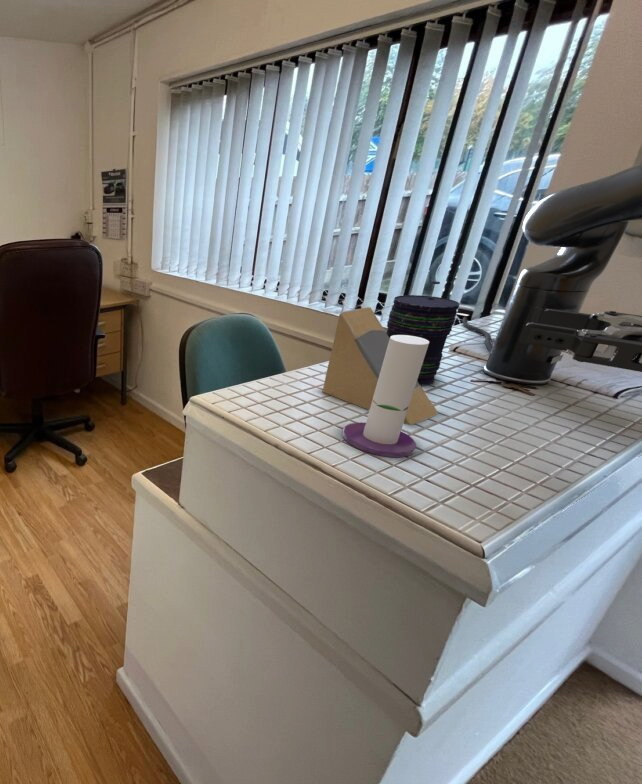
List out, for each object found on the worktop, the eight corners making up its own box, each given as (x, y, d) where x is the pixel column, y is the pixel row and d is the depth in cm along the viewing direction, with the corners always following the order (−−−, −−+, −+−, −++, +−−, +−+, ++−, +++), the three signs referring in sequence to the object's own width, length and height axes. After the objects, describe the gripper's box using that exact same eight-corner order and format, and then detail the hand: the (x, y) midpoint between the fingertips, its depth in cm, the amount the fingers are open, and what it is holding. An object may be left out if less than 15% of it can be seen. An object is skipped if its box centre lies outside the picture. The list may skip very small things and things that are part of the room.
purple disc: (344, 421, 74) (345, 417, 73) (413, 435, 69) (414, 431, 69) (340, 446, 67) (341, 441, 67) (416, 464, 62) (418, 459, 62)
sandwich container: (411, 426, 72) (441, 334, 66) (320, 392, 84) (339, 312, 78) (441, 413, 75) (472, 325, 69) (350, 382, 88) (369, 305, 82)
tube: (356, 430, 69) (382, 335, 63) (383, 429, 70) (411, 334, 64) (376, 445, 65) (406, 345, 59) (405, 443, 66) (437, 343, 60)
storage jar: (425, 390, 84) (457, 292, 77) (365, 375, 91) (389, 284, 84) (441, 376, 90) (472, 283, 82) (384, 363, 97) (408, 277, 89)
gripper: (806, 307, 42) (559, 282, 54) (822, 339, 34) (530, 302, 46) (757, 382, 45) (533, 343, 57) (761, 426, 38) (502, 370, 49)
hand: (532, 324), depth 52 cm, fingers open, 8 cm apart
